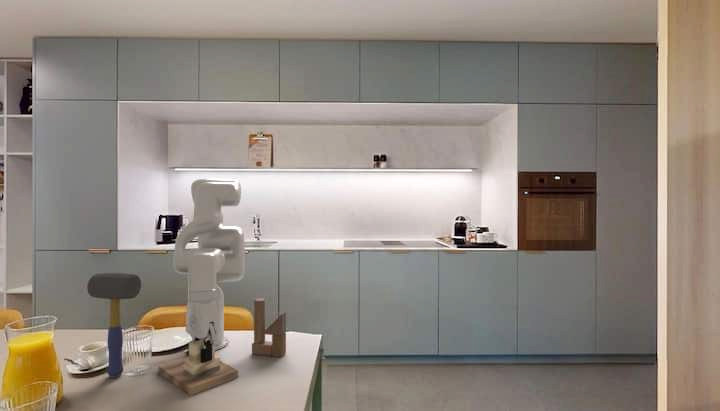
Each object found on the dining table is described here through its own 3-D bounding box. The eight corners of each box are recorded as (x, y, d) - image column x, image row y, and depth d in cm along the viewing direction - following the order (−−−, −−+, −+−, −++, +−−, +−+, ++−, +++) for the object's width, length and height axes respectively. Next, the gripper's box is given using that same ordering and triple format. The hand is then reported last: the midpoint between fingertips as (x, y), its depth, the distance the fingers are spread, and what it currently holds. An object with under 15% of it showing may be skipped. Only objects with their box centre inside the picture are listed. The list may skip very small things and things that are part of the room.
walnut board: (158, 372, 116) (158, 366, 116) (203, 358, 126) (203, 352, 126) (190, 395, 103) (190, 387, 103) (238, 377, 114) (238, 370, 113)
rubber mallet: (144, 371, 117) (143, 271, 116) (126, 383, 109) (125, 276, 109) (105, 369, 118) (104, 270, 117) (85, 381, 110) (84, 275, 110)
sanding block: (193, 379, 108) (192, 348, 108) (184, 373, 111) (184, 343, 111) (219, 369, 114) (219, 339, 114) (210, 364, 117) (210, 335, 117)
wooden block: (281, 357, 127) (282, 302, 127) (251, 354, 130) (251, 300, 129) (286, 353, 131) (286, 299, 131) (256, 350, 133) (256, 297, 133)
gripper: (175, 293, 115) (175, 355, 115) (204, 302, 104) (204, 371, 104) (200, 288, 120) (200, 348, 120) (230, 297, 110) (230, 362, 110)
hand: (202, 358), depth 112 cm, fingers closed on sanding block, 3 cm apart
